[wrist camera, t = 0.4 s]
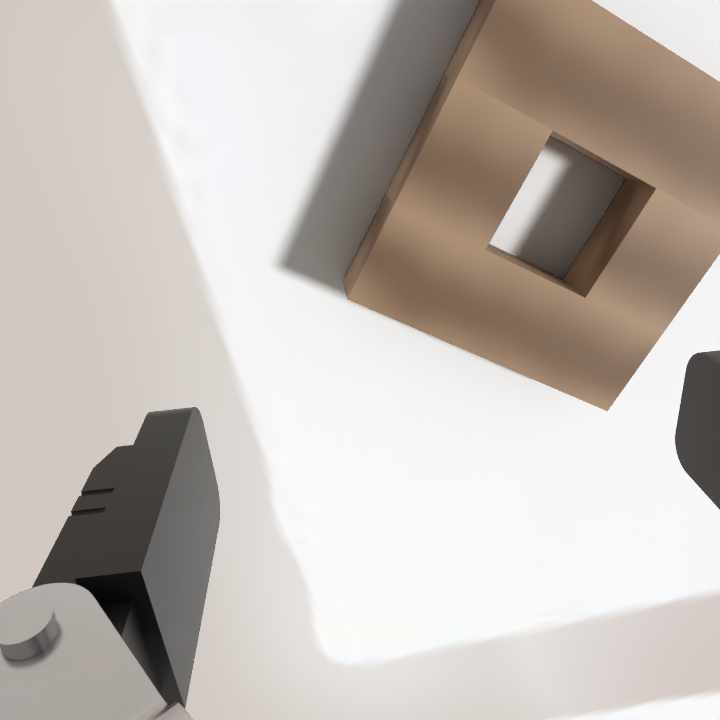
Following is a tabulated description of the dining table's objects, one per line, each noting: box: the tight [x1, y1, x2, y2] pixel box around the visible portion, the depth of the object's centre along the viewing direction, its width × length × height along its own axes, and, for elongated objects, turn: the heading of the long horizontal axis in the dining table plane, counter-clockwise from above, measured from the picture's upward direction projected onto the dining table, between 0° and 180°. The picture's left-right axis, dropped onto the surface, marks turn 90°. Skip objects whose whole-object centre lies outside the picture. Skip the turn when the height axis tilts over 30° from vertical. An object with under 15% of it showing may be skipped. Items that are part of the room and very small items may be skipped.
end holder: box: [343, 0, 720, 411], centre depth 31 cm, size 16×16×3 cm
